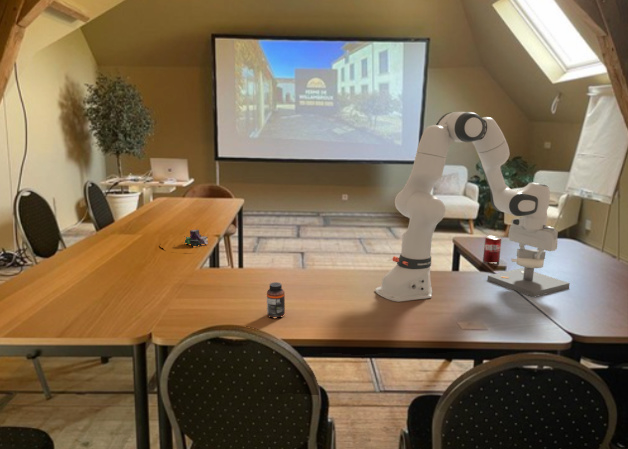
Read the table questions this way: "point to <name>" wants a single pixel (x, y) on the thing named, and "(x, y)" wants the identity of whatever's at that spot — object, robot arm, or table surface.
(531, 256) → the cap
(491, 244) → the soda can
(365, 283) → the table surface
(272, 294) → the supplement bottle
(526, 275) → the lock base
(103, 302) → the table surface
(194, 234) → the mineral sample
